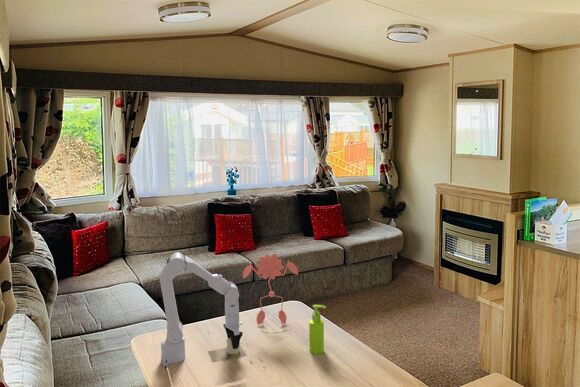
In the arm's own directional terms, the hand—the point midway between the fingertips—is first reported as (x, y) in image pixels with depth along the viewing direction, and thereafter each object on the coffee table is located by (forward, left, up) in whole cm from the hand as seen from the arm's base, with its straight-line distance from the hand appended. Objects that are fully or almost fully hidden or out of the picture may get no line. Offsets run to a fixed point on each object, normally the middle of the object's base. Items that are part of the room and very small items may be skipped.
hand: (233, 344), depth 203 cm
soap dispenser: (+33, -12, -4) cm, 35 cm away
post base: (-3, -1, -4) cm, 5 cm away
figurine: (+23, +19, -4) cm, 30 cm away
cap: (0, 0, -3) cm, 3 cm away
